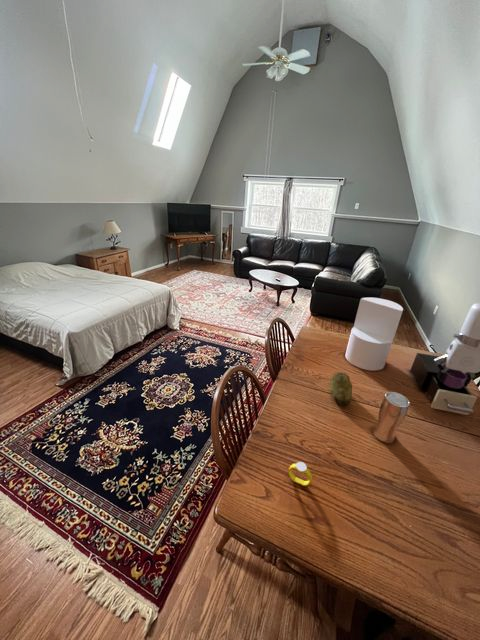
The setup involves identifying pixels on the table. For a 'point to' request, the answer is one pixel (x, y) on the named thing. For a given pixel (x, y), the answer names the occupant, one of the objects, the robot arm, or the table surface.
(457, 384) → the bowl
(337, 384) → the green rounded piece
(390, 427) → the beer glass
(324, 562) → the table surface
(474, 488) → the table surface
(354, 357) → the cylinder
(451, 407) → the drawer
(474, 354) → the robot arm
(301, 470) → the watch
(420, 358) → the cabinet
